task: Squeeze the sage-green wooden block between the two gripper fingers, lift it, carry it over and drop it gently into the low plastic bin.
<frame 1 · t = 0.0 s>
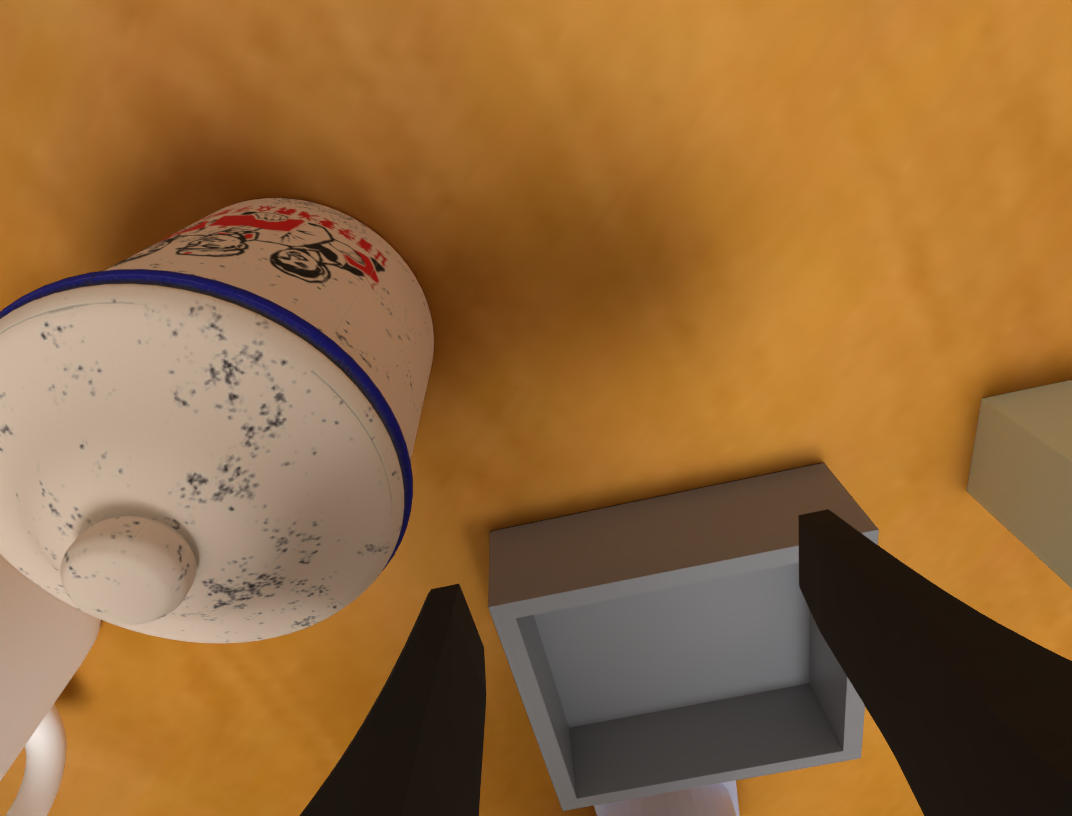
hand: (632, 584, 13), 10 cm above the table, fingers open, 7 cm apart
teacup with lid: (262, 330, 21), on the table
mug: (31, 618, 26), on the table
bin: (672, 613, 28), on the table
block: (1031, 434, 24), on the table
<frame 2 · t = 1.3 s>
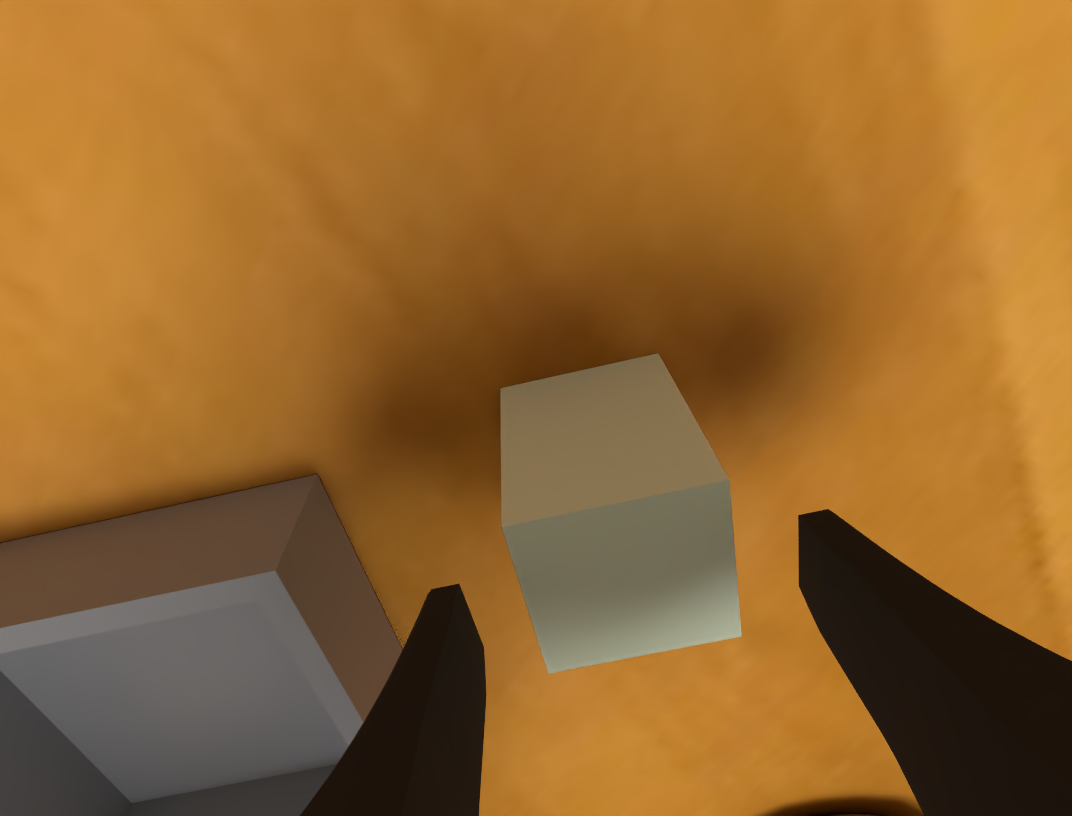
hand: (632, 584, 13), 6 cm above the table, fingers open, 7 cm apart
bin: (208, 665, 22), on the table
block: (592, 436, 18), on the table
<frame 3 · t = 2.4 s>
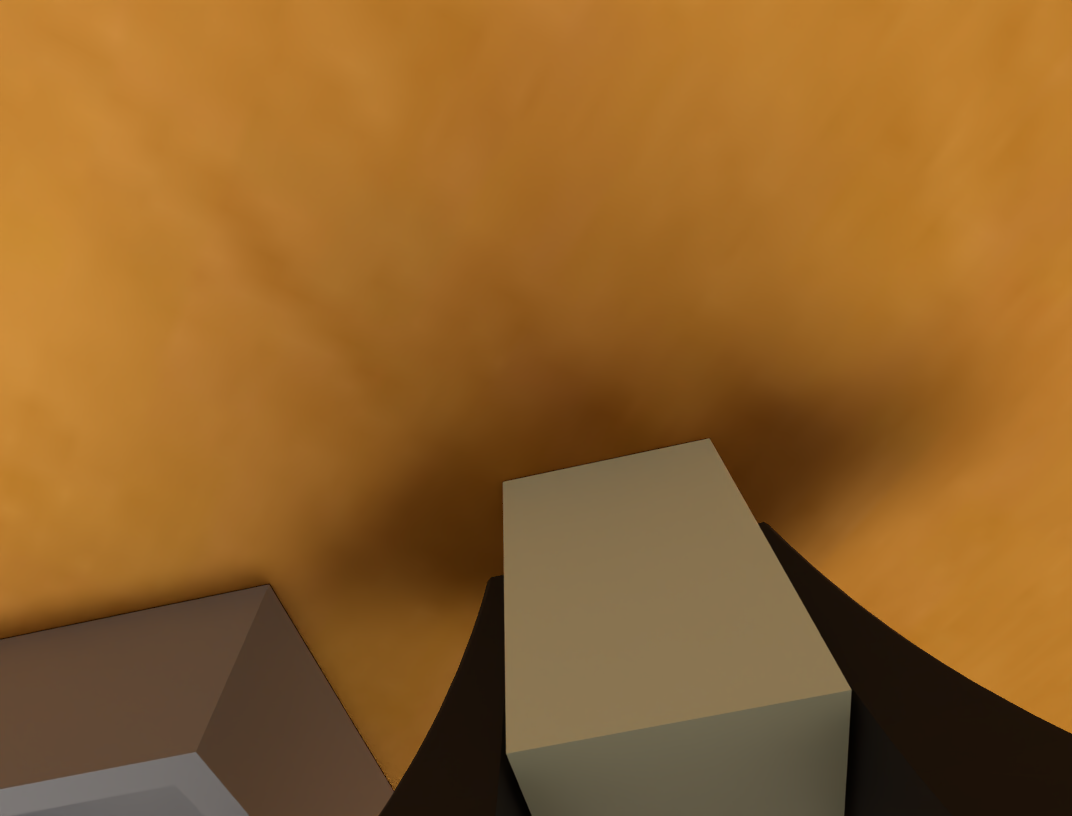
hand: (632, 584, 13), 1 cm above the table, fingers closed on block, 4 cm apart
bin: (147, 793, 18), on the table
block: (620, 538, 14), on the table, touching gripper
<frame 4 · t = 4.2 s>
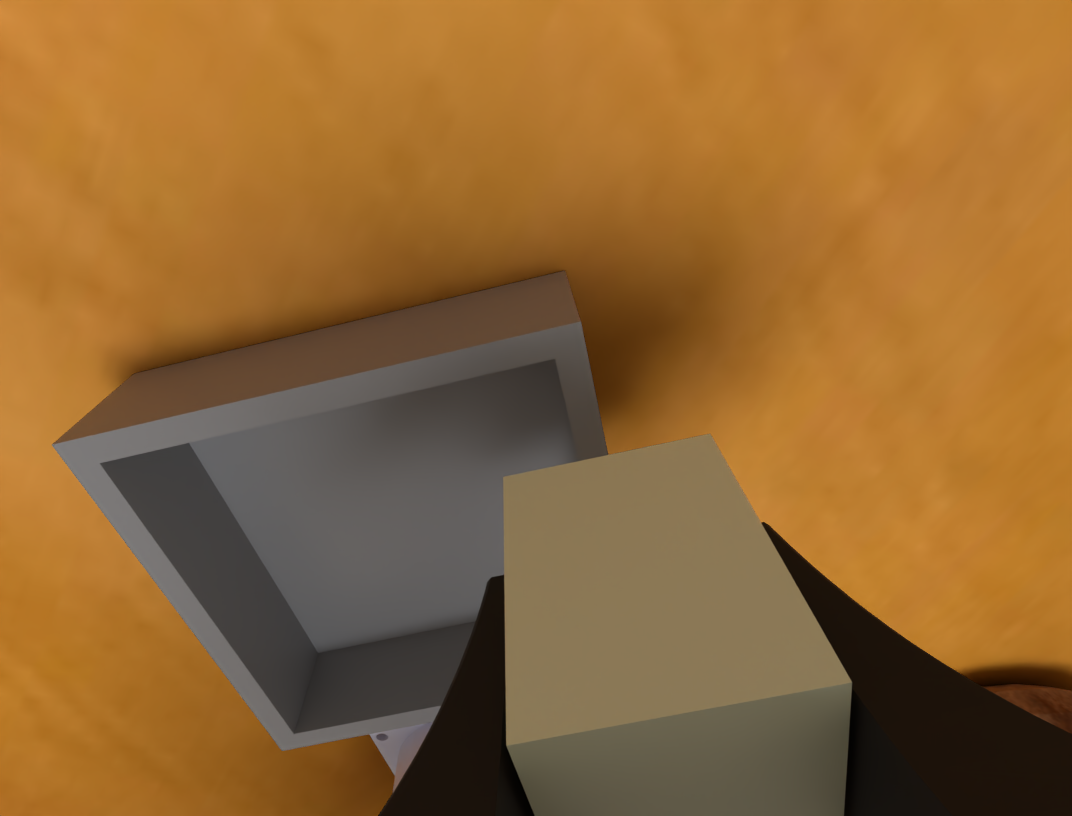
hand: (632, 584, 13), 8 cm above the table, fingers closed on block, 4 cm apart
bin: (416, 497, 22), on the table
block: (620, 534, 14), point 7 cm above the table, touching gripper
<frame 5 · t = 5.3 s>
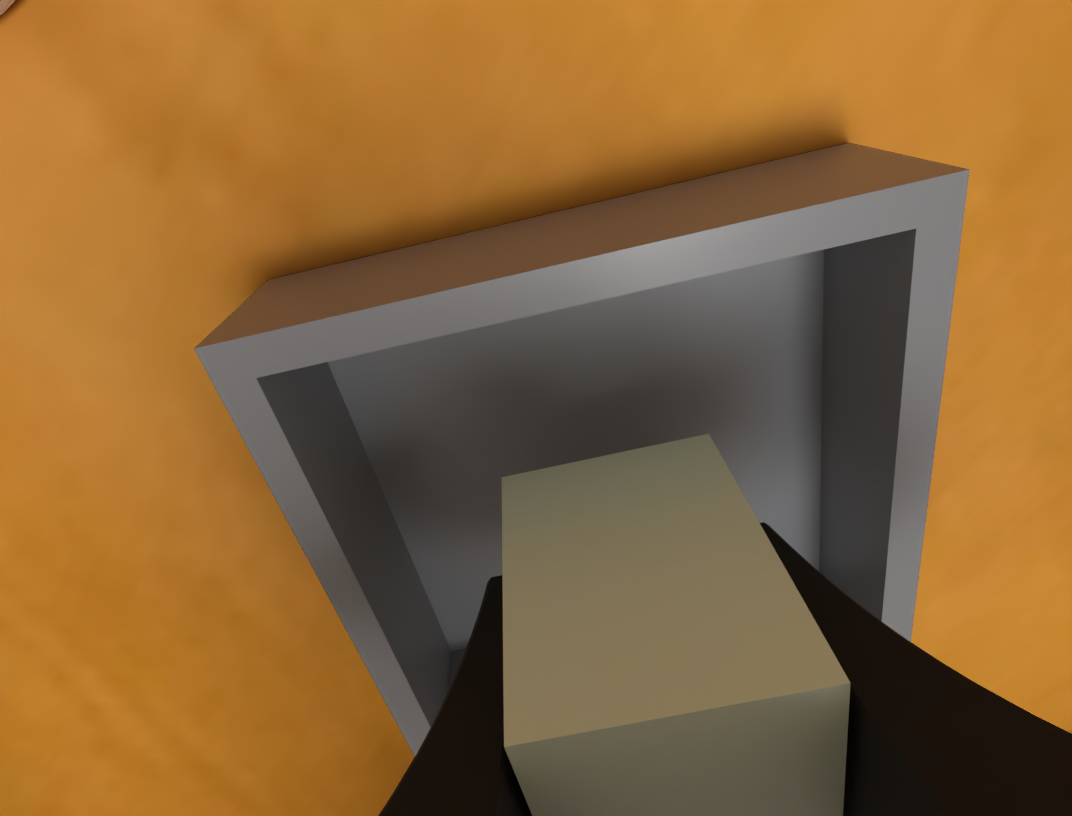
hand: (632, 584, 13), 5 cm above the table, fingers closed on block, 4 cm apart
bin: (598, 454, 17), on the table
block: (619, 534, 14), point 4 cm above the table, touching gripper
when the fingers open (4 cm above the table, at t = 6.3 s): block drops 2 cm, resting on bin.
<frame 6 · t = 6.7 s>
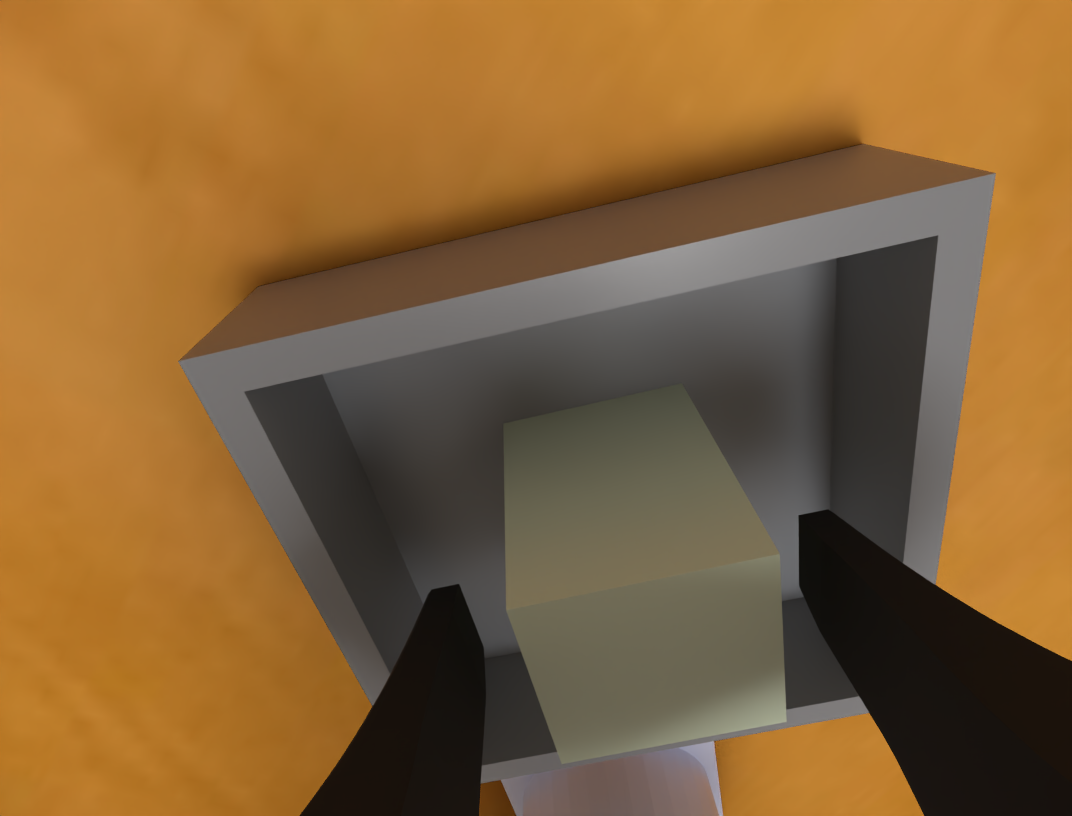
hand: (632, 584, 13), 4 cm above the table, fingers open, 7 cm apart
bin: (601, 465, 17), on the table
block: (606, 475, 16), point 1 cm above the table, touching bin
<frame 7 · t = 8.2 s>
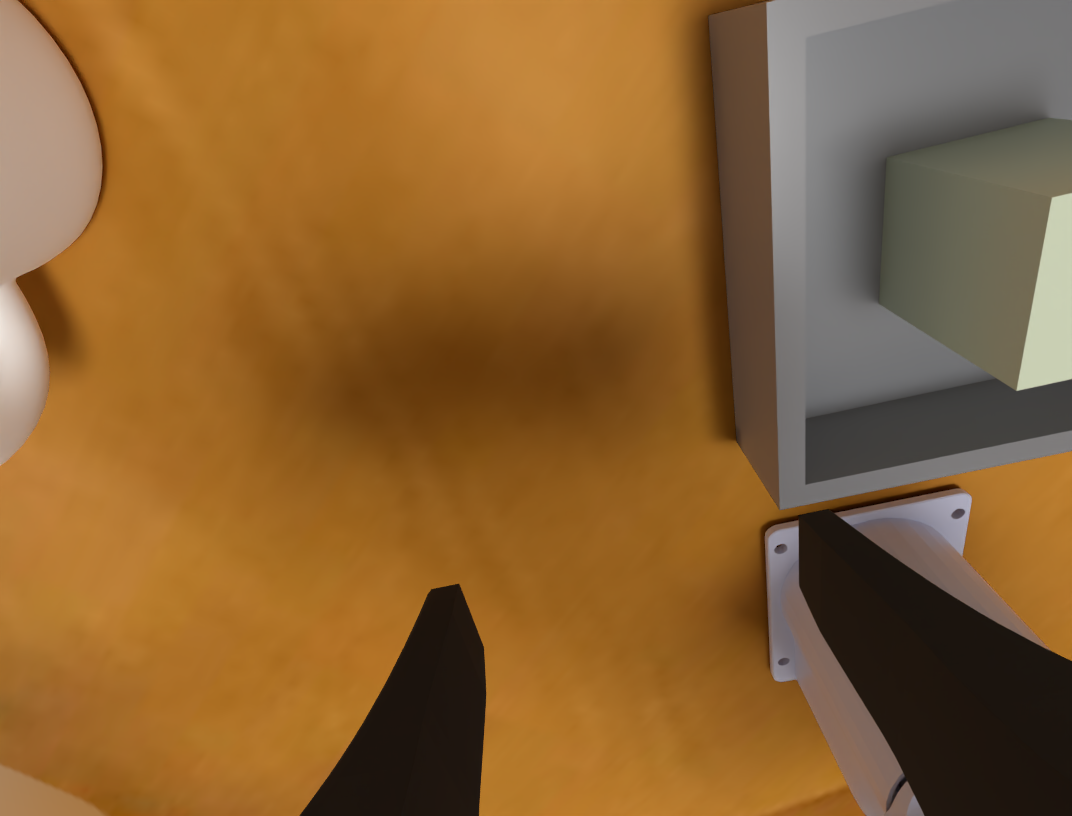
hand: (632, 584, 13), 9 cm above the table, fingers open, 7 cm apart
bin: (943, 215, 19), on the table
block: (958, 217, 18), point 1 cm above the table, touching bin
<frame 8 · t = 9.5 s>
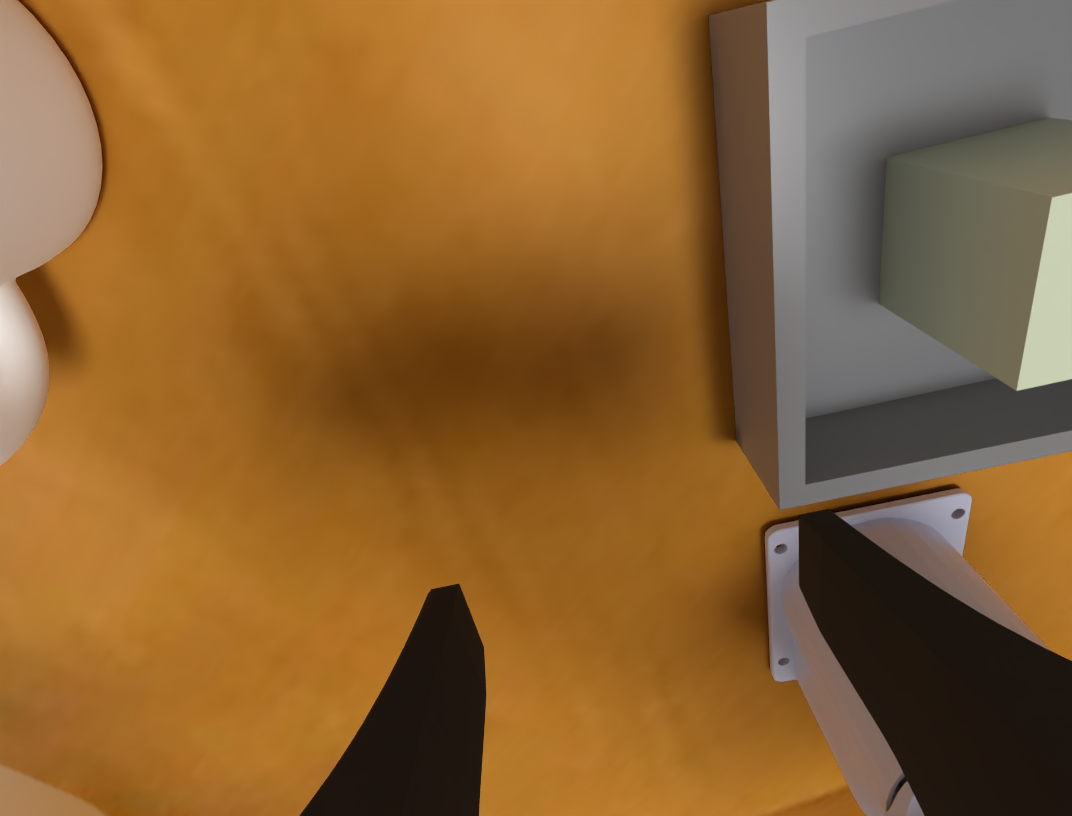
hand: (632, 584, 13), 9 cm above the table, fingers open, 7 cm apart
bin: (943, 215, 19), on the table
block: (958, 217, 18), point 1 cm above the table, touching bin
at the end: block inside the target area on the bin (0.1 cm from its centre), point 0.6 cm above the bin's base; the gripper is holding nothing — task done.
